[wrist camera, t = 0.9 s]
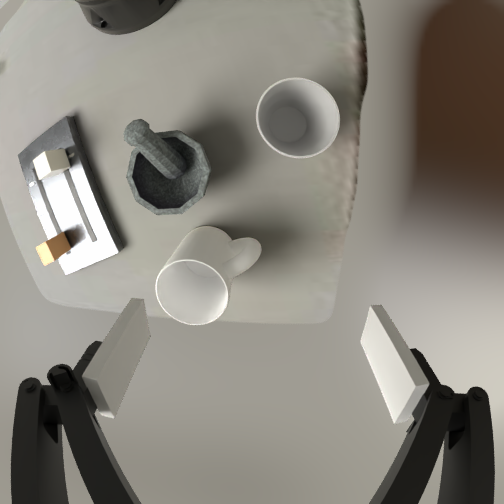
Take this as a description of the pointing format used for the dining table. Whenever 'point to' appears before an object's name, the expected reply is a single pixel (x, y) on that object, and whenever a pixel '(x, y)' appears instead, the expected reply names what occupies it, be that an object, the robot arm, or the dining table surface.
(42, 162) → the fader
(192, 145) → the mortar and pestle
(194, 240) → the mug
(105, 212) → the console
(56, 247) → the fader
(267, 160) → the dining table surface
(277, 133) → the cup
